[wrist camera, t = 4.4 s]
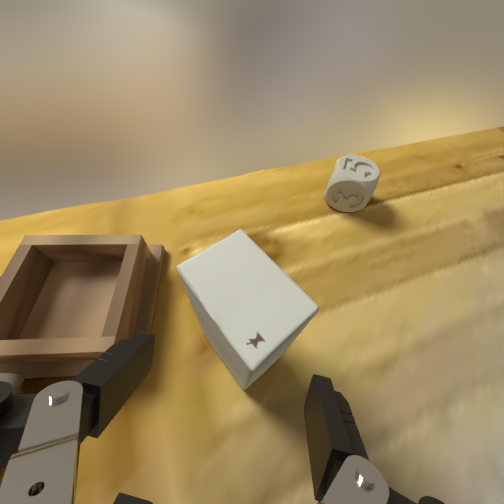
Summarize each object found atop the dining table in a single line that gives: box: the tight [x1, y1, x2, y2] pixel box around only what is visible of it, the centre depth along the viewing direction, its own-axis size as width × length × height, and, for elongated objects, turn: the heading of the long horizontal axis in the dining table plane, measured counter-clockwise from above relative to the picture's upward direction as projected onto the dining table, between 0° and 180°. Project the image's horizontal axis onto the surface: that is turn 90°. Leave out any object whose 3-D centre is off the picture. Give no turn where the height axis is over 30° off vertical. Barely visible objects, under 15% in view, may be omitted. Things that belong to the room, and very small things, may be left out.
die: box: [323, 155, 380, 212], centre depth 30 cm, size 5×5×5 cm
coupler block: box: [0, 235, 165, 394], centre depth 19 cm, size 18×18×4 cm
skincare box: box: [177, 229, 319, 391], centre depth 16 cm, size 6×4×12 cm
